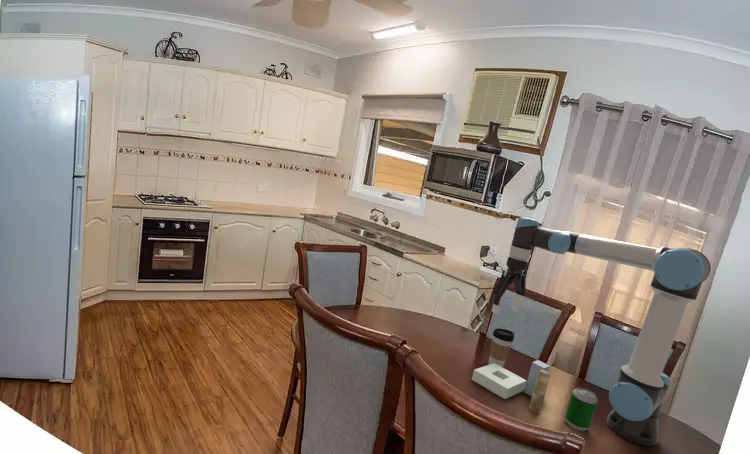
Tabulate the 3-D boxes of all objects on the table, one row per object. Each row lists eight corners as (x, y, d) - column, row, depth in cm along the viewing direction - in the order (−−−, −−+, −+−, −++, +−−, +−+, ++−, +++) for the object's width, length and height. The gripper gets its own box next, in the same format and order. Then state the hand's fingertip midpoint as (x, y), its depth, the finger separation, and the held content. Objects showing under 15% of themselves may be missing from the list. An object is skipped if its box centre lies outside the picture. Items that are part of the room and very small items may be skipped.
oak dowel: (541, 412, 148) (552, 374, 146) (536, 414, 145) (547, 376, 143) (531, 406, 150) (542, 369, 148) (526, 408, 148) (537, 371, 146)
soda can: (587, 436, 138) (597, 401, 137) (562, 424, 142) (572, 391, 140) (589, 426, 145) (599, 393, 143) (565, 415, 149) (575, 383, 147)
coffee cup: (507, 372, 174) (516, 337, 172) (485, 366, 175) (494, 331, 173) (505, 363, 182) (513, 330, 180) (484, 358, 183) (493, 324, 181)
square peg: (541, 395, 160) (549, 365, 158) (535, 398, 156) (544, 368, 155) (529, 389, 163) (538, 360, 161) (524, 392, 160) (532, 362, 158)
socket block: (524, 390, 161) (526, 380, 160) (504, 399, 151) (507, 388, 151) (491, 372, 171) (494, 362, 170) (471, 379, 161) (474, 369, 160)
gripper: (525, 255, 174) (512, 305, 177) (492, 255, 157) (478, 310, 160) (543, 261, 169) (529, 312, 172) (510, 261, 152) (495, 318, 155)
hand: (504, 311), depth 166 cm, fingers open, 13 cm apart
